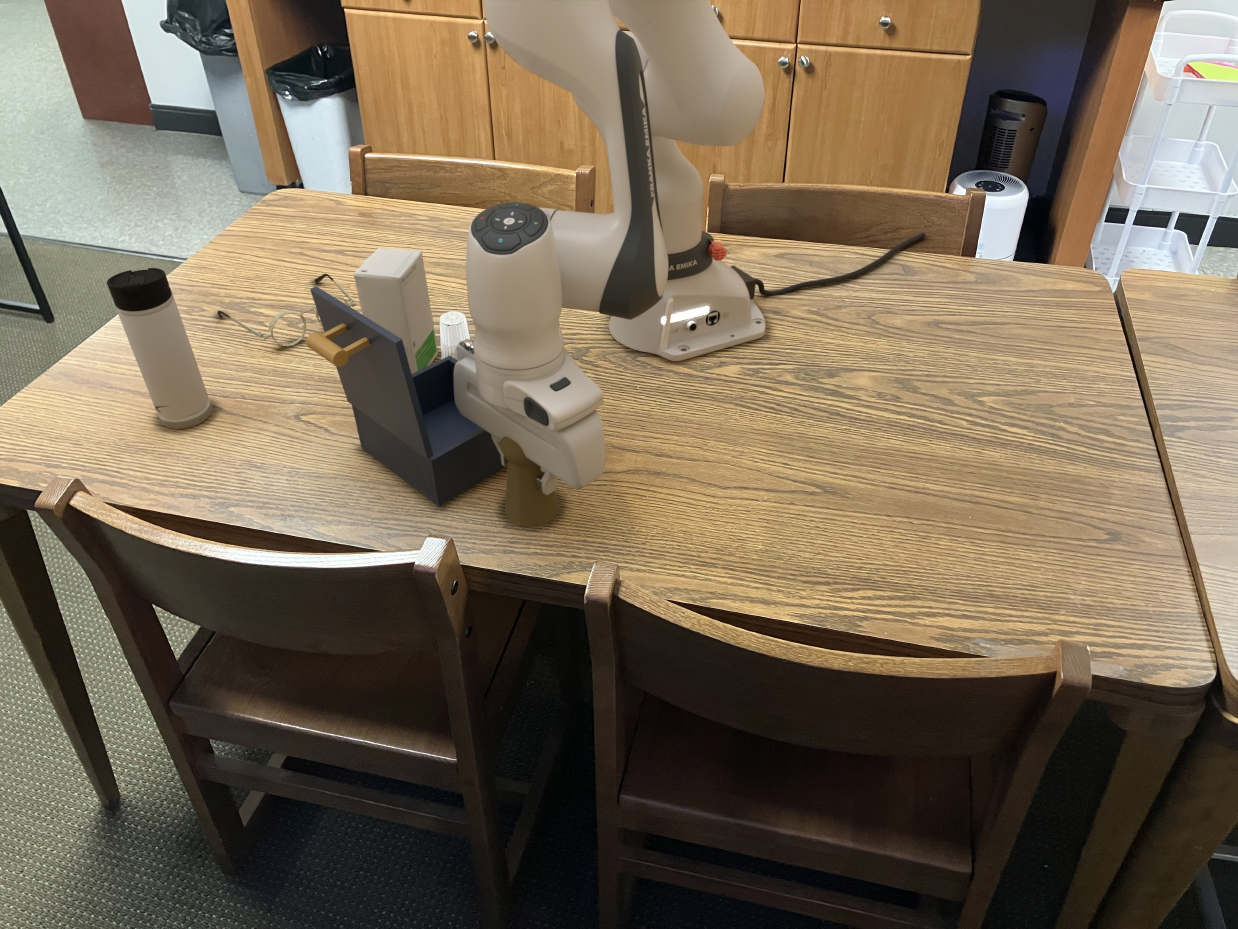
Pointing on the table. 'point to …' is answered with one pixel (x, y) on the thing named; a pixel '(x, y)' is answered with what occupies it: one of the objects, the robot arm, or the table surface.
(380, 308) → the cosmetic box
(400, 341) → the lid
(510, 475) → the brown pawn
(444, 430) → the chest
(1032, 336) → the table surface
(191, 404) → the travel mug
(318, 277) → the round eyeglasses
